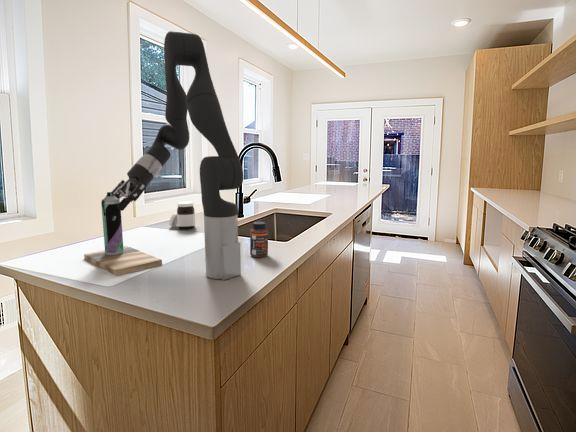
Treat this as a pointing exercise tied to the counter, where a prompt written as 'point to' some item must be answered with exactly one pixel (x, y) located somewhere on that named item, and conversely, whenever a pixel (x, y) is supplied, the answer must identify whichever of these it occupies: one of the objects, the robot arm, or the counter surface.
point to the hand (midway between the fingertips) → (113, 207)
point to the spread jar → (184, 216)
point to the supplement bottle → (259, 240)
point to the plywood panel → (123, 260)
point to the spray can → (112, 225)
